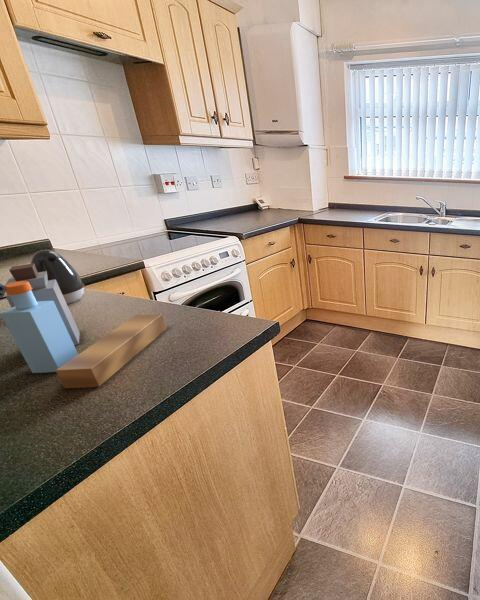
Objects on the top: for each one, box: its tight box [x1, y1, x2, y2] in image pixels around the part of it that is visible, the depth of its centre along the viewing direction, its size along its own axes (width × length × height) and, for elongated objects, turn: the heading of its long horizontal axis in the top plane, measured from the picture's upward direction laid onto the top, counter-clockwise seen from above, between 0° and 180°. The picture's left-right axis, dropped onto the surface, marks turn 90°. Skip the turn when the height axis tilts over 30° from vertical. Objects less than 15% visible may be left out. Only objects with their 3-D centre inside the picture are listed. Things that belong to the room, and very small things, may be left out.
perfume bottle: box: [5, 263, 81, 346], centre depth 72 cm, size 7×7×18 cm
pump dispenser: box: [30, 249, 85, 305], centre depth 93 cm, size 10×10×15 cm
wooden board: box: [55, 313, 168, 389], centre depth 70 cm, size 22×6×4 cm, turn 4°
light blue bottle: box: [0, 281, 79, 374], centre depth 64 cm, size 18×5×5 cm
